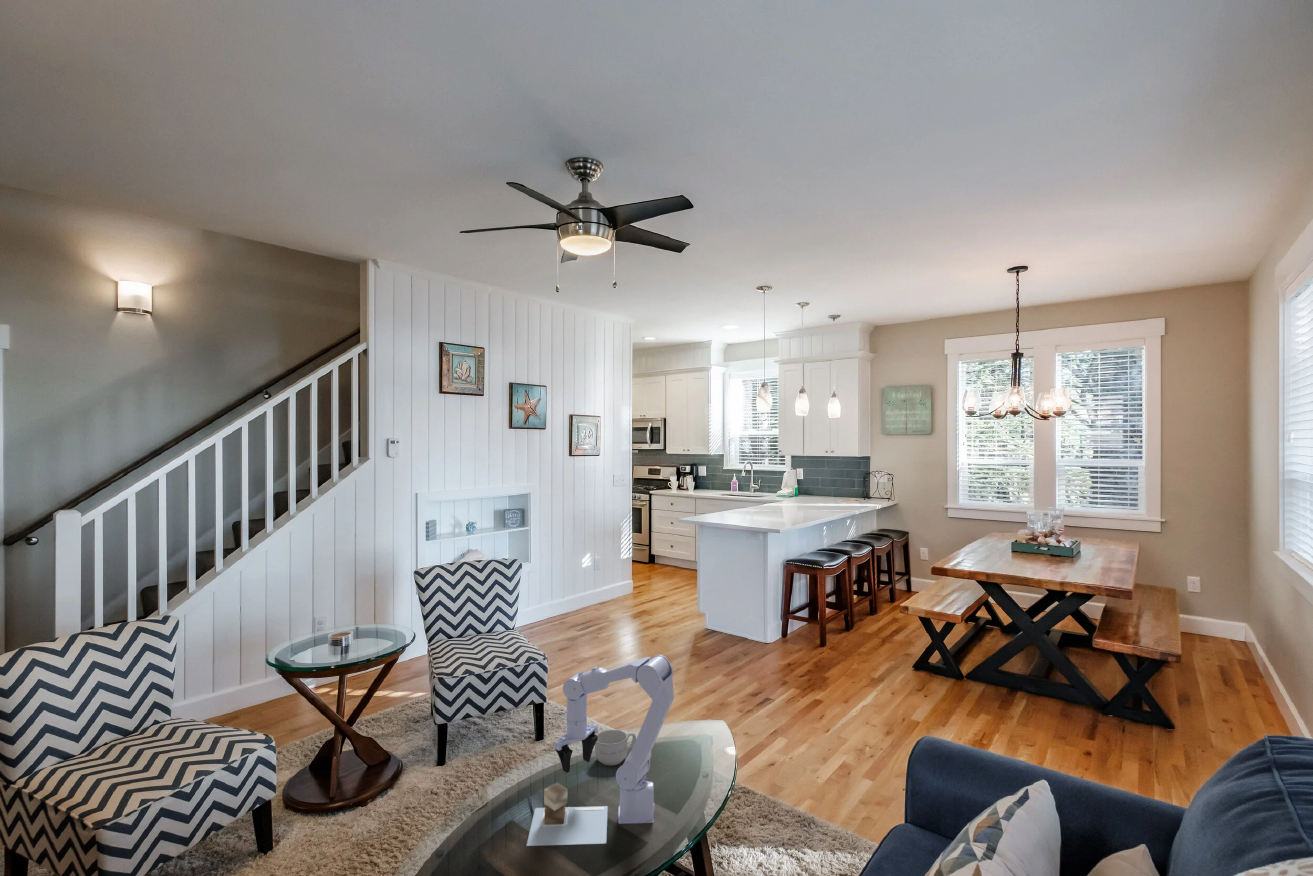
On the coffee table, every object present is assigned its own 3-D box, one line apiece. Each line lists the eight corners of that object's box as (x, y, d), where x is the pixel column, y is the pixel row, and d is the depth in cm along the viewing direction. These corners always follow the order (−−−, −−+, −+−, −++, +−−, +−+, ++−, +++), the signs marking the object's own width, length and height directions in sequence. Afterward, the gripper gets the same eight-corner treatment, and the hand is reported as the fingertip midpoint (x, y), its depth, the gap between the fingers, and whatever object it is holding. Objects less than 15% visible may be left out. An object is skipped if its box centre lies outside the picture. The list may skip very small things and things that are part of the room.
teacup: (597, 771, 192) (597, 746, 192) (591, 754, 202) (591, 730, 202) (640, 765, 196) (641, 740, 196) (633, 749, 206) (633, 725, 206)
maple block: (557, 797, 170) (557, 782, 170) (567, 803, 167) (567, 788, 167) (544, 804, 167) (544, 789, 167) (554, 810, 164) (554, 795, 164)
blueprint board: (607, 808, 173) (607, 805, 173) (606, 845, 157) (606, 843, 157) (535, 810, 172) (535, 807, 172) (526, 848, 156) (526, 845, 156)
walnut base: (565, 812, 170) (565, 798, 170) (563, 824, 165) (563, 808, 165) (546, 813, 169) (547, 798, 169) (544, 824, 164) (544, 809, 164)
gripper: (586, 705, 184) (586, 751, 184) (547, 722, 174) (547, 770, 174) (602, 713, 180) (602, 759, 180) (563, 730, 169) (563, 780, 169)
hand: (576, 766), depth 176 cm, fingers open, 7 cm apart
